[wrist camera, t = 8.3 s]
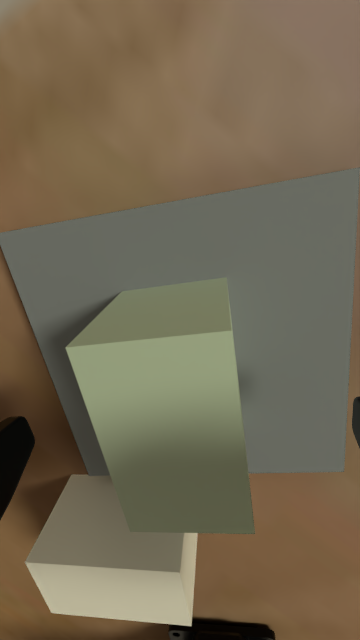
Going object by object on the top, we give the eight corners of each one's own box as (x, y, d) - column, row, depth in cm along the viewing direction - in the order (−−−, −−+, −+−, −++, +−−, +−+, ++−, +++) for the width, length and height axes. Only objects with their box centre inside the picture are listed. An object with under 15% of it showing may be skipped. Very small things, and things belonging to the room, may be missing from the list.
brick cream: (190, 473, 14) (180, 572, 10) (198, 522, 15) (191, 626, 12) (72, 472, 15) (24, 562, 11) (89, 518, 16) (51, 613, 13)
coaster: (338, 459, 12) (343, 471, 12) (94, 465, 14) (89, 476, 14) (350, 169, 8) (359, 167, 8) (7, 231, 10) (-5, 233, 10)
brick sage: (243, 426, 12) (254, 534, 8) (156, 430, 12) (130, 531, 8) (226, 277, 9) (231, 330, 6) (121, 291, 10) (65, 347, 6)
